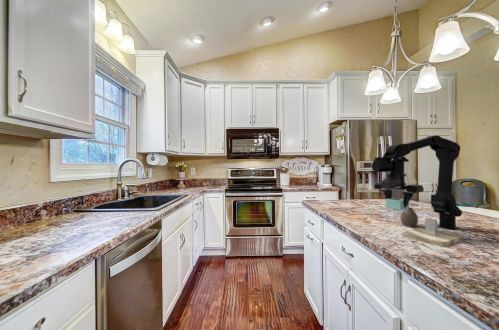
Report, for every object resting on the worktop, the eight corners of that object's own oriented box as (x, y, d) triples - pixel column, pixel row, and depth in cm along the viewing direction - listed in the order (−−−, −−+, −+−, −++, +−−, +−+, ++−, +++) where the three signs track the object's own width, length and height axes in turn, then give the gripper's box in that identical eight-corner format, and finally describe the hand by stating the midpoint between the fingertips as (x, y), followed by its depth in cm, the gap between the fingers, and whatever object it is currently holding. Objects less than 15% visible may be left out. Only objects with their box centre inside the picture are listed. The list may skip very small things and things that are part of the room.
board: (421, 230, 98) (421, 227, 98) (462, 240, 85) (462, 236, 85) (401, 235, 91) (401, 232, 91) (443, 246, 78) (443, 242, 78)
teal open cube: (394, 206, 104) (394, 197, 104) (408, 208, 98) (408, 199, 98) (385, 207, 101) (385, 198, 101) (400, 210, 95) (400, 200, 95)
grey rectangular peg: (427, 232, 90) (427, 218, 90) (437, 235, 87) (437, 220, 87) (425, 233, 89) (425, 218, 89) (435, 235, 86) (435, 220, 86)
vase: (421, 228, 101) (421, 209, 101) (404, 227, 103) (404, 208, 103) (413, 224, 108) (413, 206, 108) (397, 223, 110) (397, 206, 110)
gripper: (366, 171, 105) (366, 204, 105) (408, 173, 88) (409, 211, 88) (381, 171, 109) (381, 202, 110) (424, 172, 93) (424, 208, 93)
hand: (397, 205), depth 100 cm, fingers closed on teal open cube, 6 cm apart
